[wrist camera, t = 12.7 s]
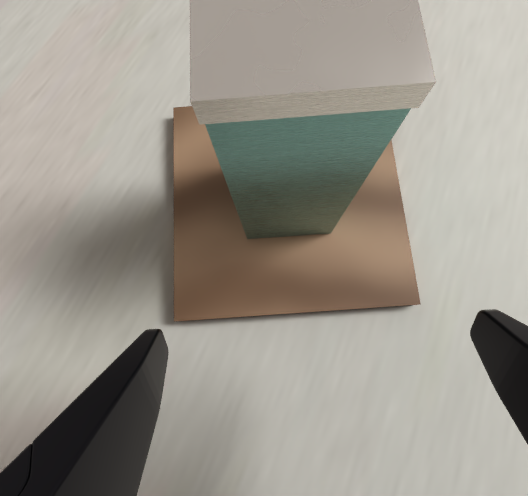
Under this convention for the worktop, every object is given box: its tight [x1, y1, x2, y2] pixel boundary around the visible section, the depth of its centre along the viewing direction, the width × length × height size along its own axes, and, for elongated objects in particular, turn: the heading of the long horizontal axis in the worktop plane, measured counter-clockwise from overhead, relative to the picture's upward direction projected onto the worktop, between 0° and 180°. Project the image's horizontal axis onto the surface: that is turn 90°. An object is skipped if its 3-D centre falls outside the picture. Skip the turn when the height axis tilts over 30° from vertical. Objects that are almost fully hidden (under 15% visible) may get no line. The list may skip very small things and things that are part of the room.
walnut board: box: [174, 106, 420, 321], centre depth 19 cm, size 14×14×2 cm
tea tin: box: [190, 0, 436, 239], centre depth 13 cm, size 5×5×12 cm
